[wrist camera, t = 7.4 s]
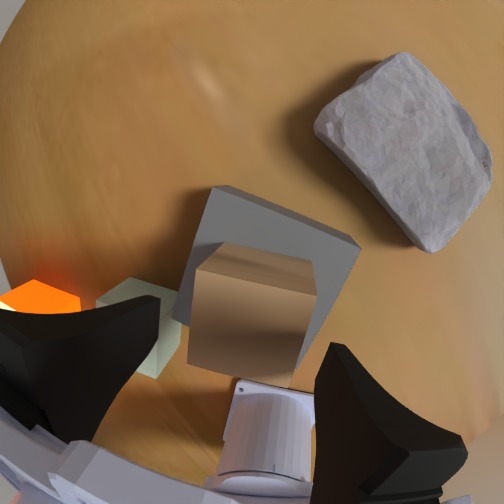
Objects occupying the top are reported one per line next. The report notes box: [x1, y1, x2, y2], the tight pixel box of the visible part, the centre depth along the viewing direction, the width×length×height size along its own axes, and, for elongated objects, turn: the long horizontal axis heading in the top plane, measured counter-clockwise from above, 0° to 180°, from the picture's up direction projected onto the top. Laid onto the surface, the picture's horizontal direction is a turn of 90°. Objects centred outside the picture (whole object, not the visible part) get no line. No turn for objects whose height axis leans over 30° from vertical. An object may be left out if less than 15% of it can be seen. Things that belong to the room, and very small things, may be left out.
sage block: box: [96, 277, 182, 379], centre depth 20 cm, size 5×5×5 cm
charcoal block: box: [171, 185, 361, 369], centre depth 19 cm, size 9×9×4 cm
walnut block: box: [187, 242, 317, 388], centre depth 15 cm, size 5×5×5 cm
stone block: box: [313, 52, 493, 254], centre depth 16 cm, size 12×5×10 cm
